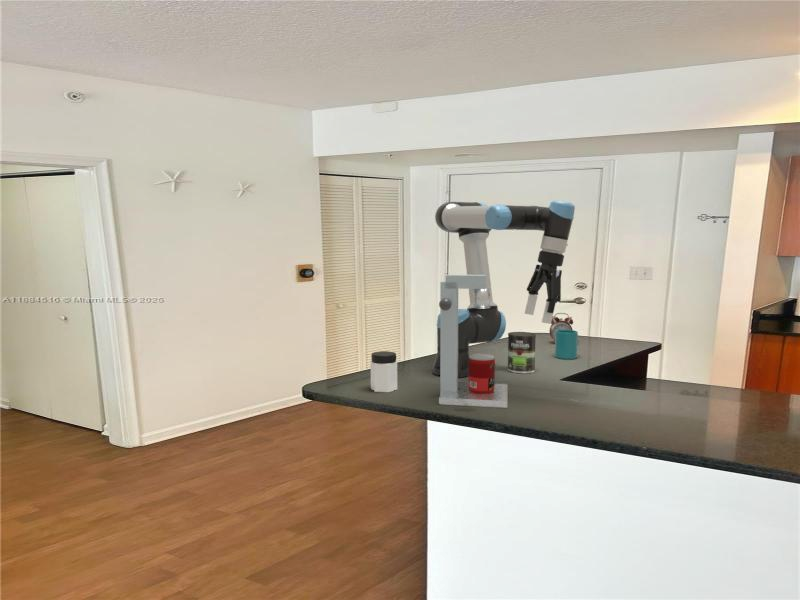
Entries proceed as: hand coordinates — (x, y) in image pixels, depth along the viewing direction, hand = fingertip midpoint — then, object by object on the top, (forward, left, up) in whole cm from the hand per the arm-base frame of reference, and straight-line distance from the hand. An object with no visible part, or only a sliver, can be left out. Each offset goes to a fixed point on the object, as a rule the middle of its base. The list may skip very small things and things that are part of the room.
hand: (537, 318), depth 169 cm
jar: (+3, -49, -24) cm, 55 cm away
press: (+9, -19, -24) cm, 32 cm away
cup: (-62, +16, -24) cm, 68 cm away
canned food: (+7, -17, -22) cm, 29 cm away
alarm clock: (-95, +16, -24) cm, 99 cm away
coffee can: (-33, -4, -24) cm, 41 cm away
